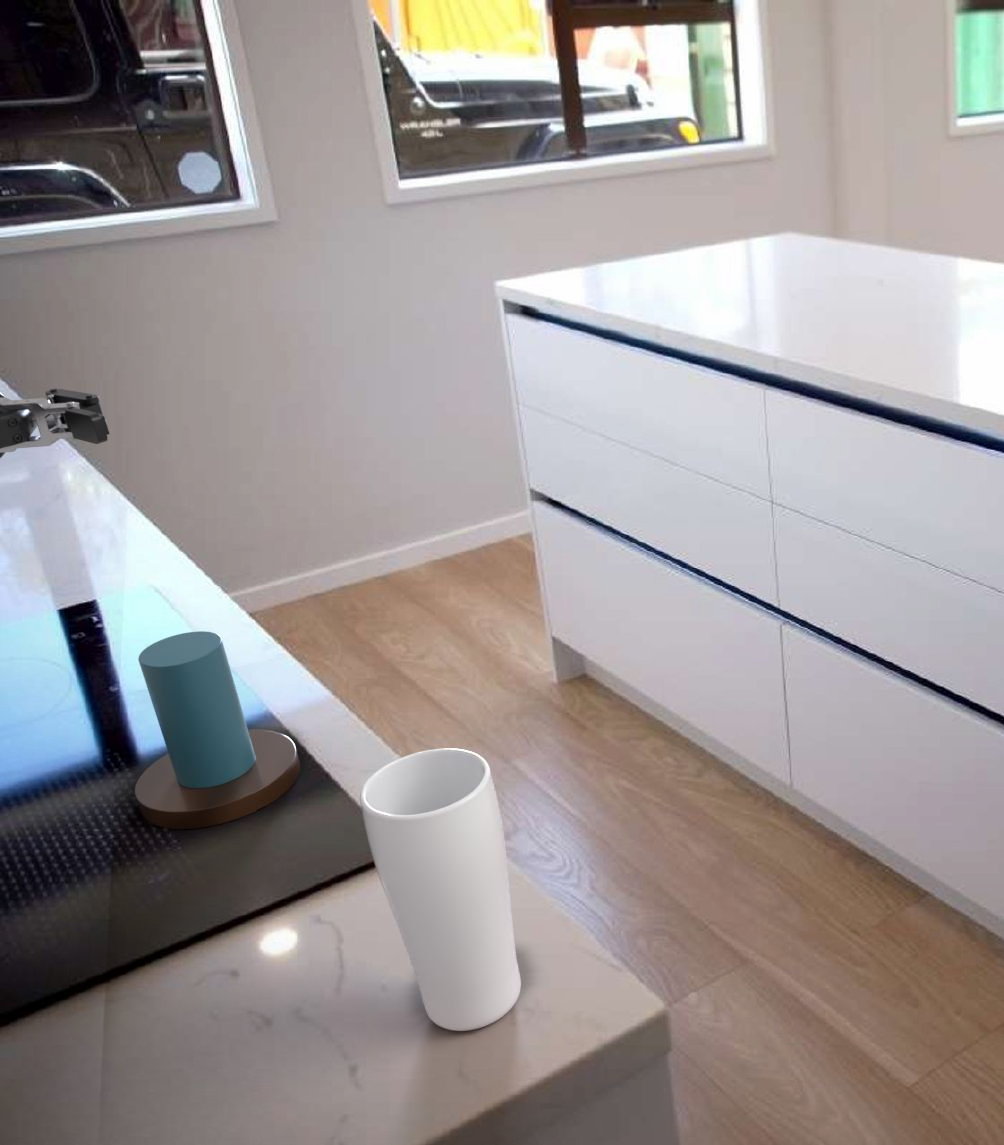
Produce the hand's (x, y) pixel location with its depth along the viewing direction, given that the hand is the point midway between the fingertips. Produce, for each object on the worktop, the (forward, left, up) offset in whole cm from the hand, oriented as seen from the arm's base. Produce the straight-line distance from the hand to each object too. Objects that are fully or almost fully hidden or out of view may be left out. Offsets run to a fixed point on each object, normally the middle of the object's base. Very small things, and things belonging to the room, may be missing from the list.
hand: (41, 446), depth 92 cm
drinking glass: (+18, -43, -25) cm, 53 cm away
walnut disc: (+6, -10, -25) cm, 27 cm away
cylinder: (+6, -10, -23) cm, 26 cm away
